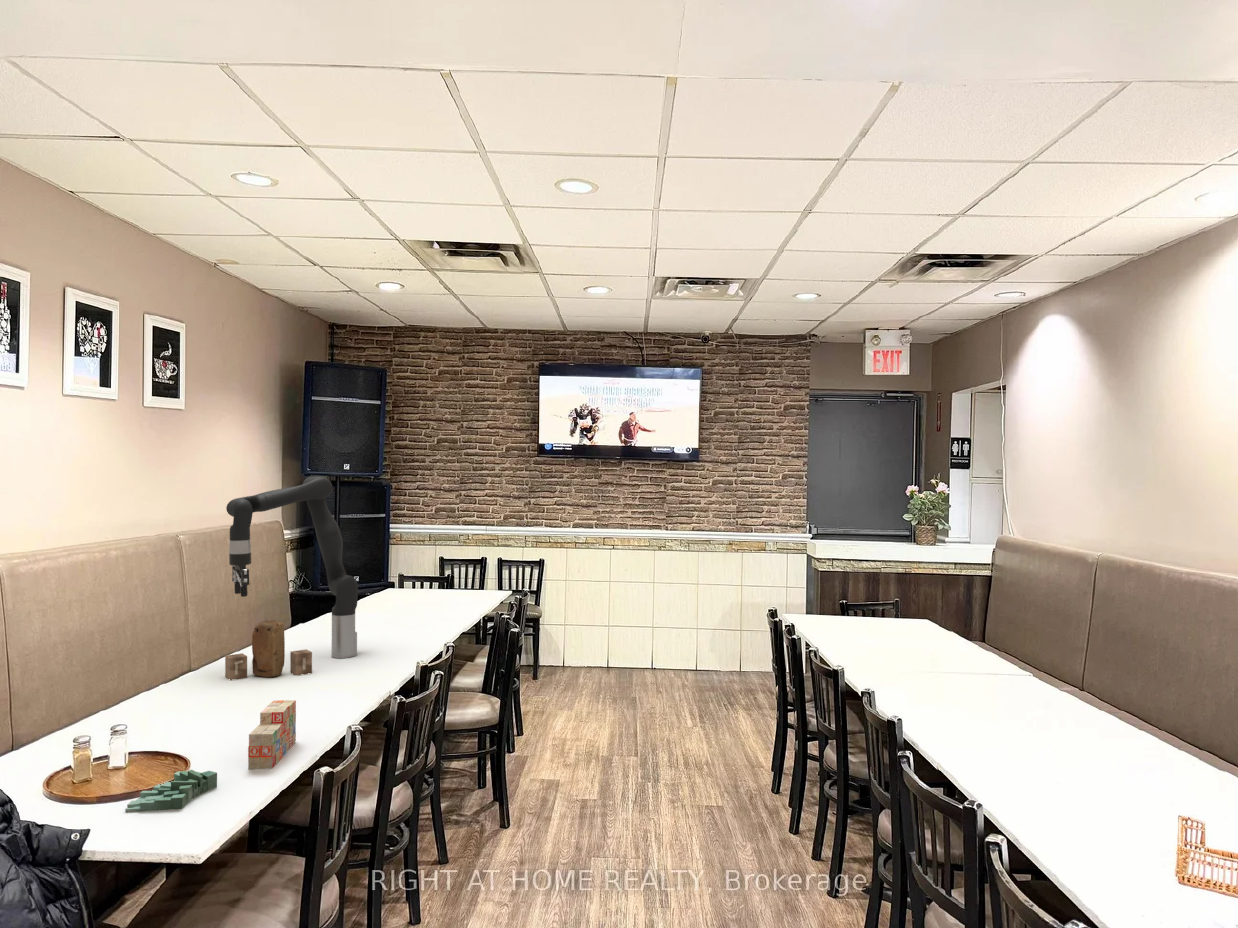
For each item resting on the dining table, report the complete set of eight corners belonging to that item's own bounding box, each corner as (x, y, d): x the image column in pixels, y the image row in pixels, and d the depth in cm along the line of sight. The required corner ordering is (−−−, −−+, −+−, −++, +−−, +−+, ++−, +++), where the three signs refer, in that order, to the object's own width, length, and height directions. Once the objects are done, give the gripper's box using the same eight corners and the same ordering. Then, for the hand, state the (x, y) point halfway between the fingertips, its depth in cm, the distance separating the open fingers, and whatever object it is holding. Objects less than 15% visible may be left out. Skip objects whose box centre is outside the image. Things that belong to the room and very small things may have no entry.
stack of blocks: (272, 769, 220) (272, 722, 220) (247, 769, 219) (247, 722, 219) (296, 742, 241) (296, 698, 241) (273, 742, 240) (273, 699, 240)
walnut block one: (306, 670, 323) (306, 649, 323) (312, 673, 318) (312, 652, 318) (290, 672, 319) (290, 651, 319) (296, 675, 315) (296, 654, 314)
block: (286, 673, 317) (286, 620, 317) (274, 678, 310) (274, 624, 310) (261, 671, 320) (261, 619, 320) (248, 676, 313) (248, 622, 313)
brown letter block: (242, 674, 316) (242, 653, 316) (247, 677, 311) (247, 656, 311) (225, 677, 312) (225, 655, 312) (230, 680, 307) (230, 658, 307)
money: (200, 809, 195) (200, 788, 195) (124, 814, 192) (124, 793, 192) (225, 777, 215) (225, 758, 214) (156, 781, 212) (156, 762, 212)
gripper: (256, 552, 314) (256, 596, 314) (245, 549, 325) (246, 591, 325) (234, 554, 309) (235, 598, 309) (224, 551, 320) (225, 593, 321)
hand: (240, 594), depth 317 cm, fingers open, 8 cm apart
